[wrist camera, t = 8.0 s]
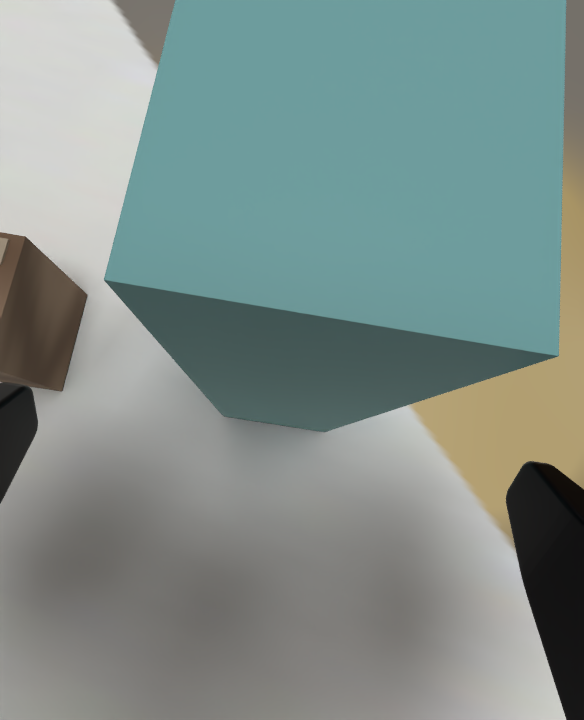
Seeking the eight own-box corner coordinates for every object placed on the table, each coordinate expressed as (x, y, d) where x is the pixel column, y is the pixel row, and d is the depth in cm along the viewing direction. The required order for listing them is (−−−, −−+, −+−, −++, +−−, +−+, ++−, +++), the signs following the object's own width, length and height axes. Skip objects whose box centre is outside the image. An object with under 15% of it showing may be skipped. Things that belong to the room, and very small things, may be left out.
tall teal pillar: (324, 431, 18) (559, 356, 4) (223, 416, 17) (103, 279, 4) (337, 335, 18) (566, -3, 5) (241, 319, 18) (195, -79, 5)
